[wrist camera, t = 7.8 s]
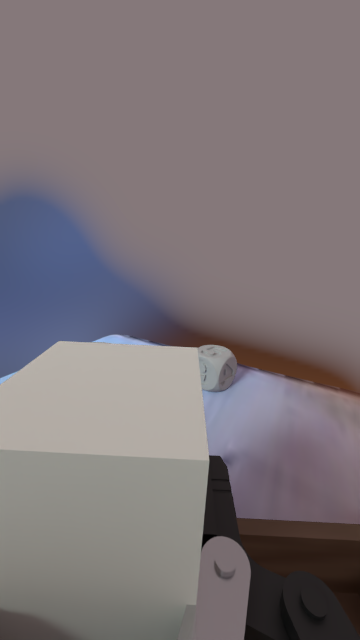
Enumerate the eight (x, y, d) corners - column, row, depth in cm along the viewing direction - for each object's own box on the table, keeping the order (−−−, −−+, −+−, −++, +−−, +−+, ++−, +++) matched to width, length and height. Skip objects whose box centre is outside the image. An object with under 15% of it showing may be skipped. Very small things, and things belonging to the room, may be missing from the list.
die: (235, 383, 37) (239, 351, 36) (216, 396, 34) (219, 362, 32) (207, 371, 40) (210, 342, 39) (187, 382, 37) (189, 351, 35)
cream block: (180, 780, 8) (209, 460, 4) (15, 769, 8) (-81, 445, 4) (182, 575, 12) (197, 347, 9) (81, 569, 13) (59, 341, 9)
